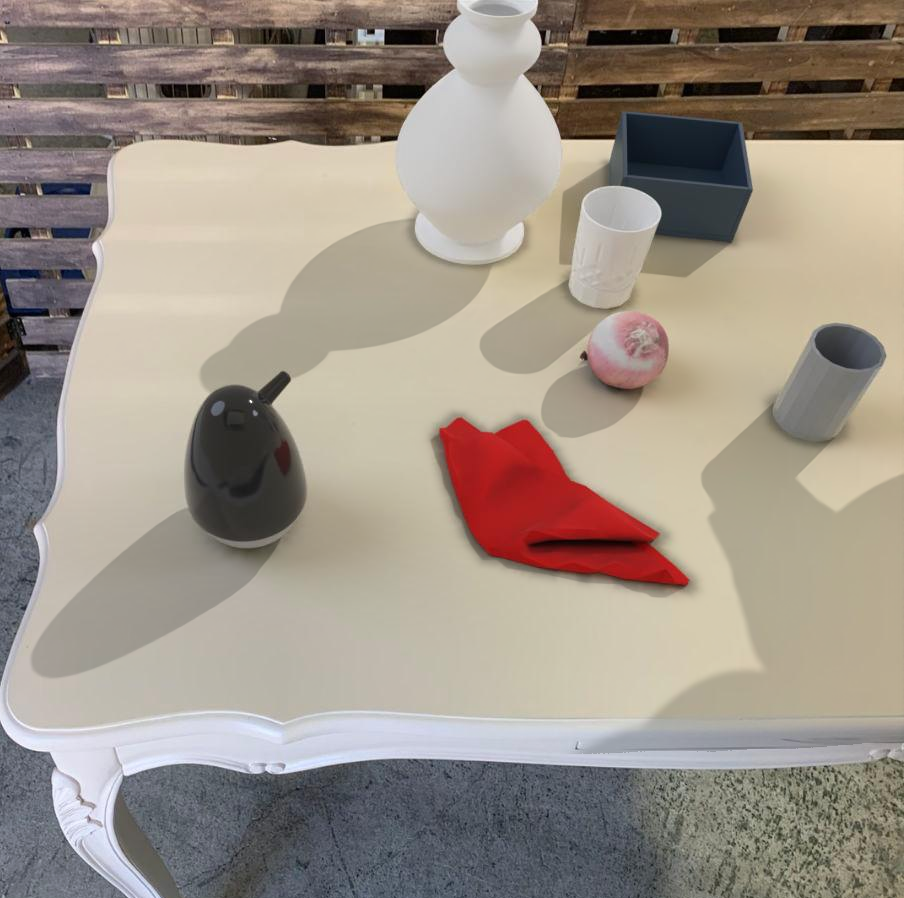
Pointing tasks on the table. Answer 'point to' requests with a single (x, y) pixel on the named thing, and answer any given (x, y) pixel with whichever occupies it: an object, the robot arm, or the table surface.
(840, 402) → the steel cup
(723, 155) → the basket
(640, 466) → the table surface
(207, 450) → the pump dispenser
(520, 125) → the decorative vase
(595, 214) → the white cup
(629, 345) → the onion
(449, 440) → the cloth
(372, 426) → the table surface
